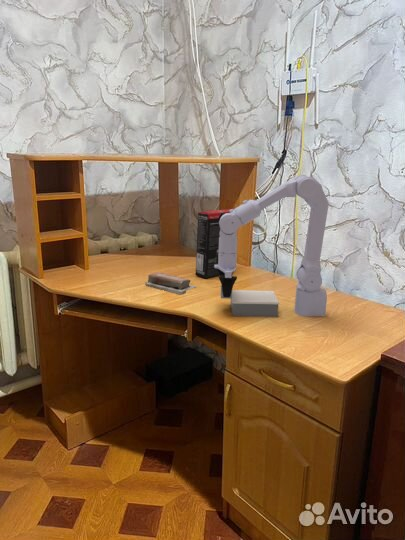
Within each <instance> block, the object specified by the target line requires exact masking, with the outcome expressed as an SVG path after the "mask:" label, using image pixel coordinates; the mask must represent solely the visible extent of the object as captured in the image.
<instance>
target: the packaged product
mask: <svg viewBox="0 0 405 540" xmlns="http://www.w3.org/2000/svg"><path fill="white" fill-rule="evenodd" d="M147 278H148V279H147V281H145V283H144V286H145V285H146V287H149V286H150V287H149V288H152V287H153V289H157V290H159V291H163V290H164V292H168V293H172V294H176V295H180V296H181V295H183V294H186V293H187V291H189V290H191V289H197V286H196V285H192V284H190V283H191V279H189V278H185V277H180V276H177V275H173V274H168V273H165V272H160V271H156V272H153V273H150V274H148V276H147Z"/></svg>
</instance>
